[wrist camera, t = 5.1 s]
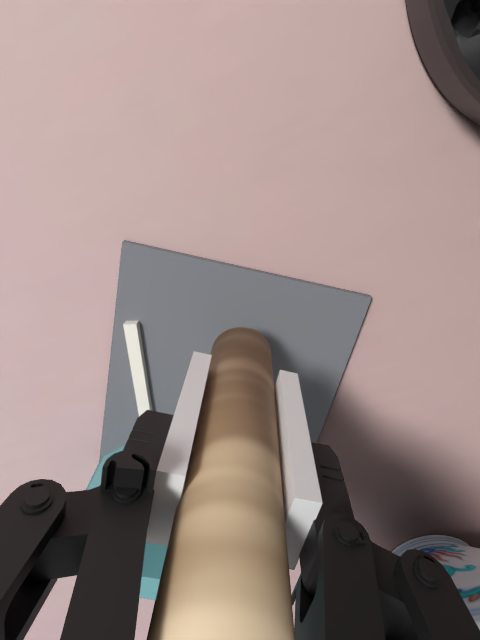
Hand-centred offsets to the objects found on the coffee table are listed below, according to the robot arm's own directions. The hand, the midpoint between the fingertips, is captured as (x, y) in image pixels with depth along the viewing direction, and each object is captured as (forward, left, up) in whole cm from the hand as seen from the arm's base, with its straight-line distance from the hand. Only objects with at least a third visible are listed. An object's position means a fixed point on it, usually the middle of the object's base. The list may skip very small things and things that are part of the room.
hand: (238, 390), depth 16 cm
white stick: (+4, -5, -5) cm, 8 cm away
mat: (+6, 0, -6) cm, 8 cm away
